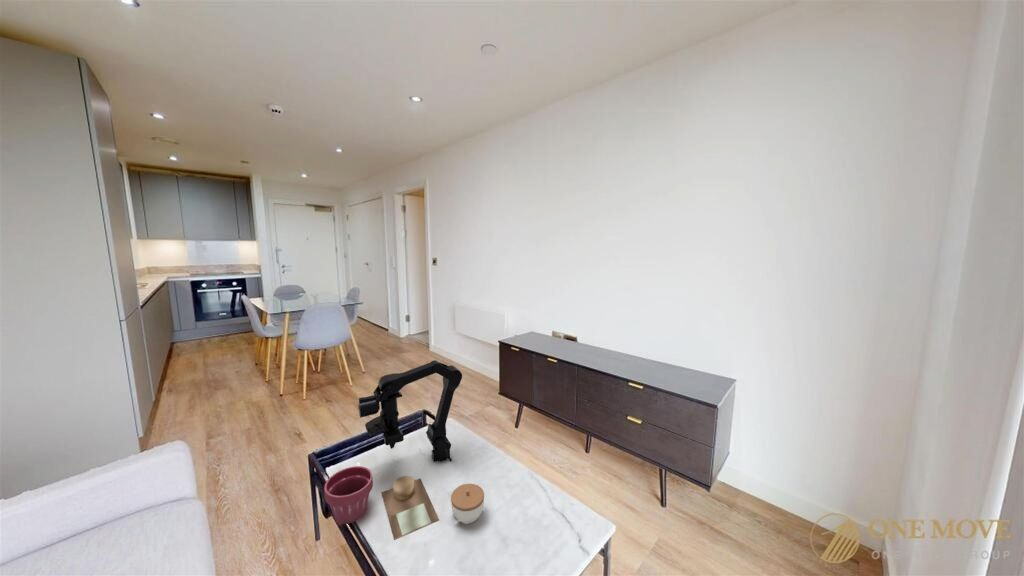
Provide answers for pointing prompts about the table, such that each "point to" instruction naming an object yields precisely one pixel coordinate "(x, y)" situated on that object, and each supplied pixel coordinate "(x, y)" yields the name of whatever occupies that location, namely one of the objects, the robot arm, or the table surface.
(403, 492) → the oak puck
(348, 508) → the plant pot
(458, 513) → the lidded jar
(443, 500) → the table surface
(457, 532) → the table surface
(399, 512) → the walnut board
